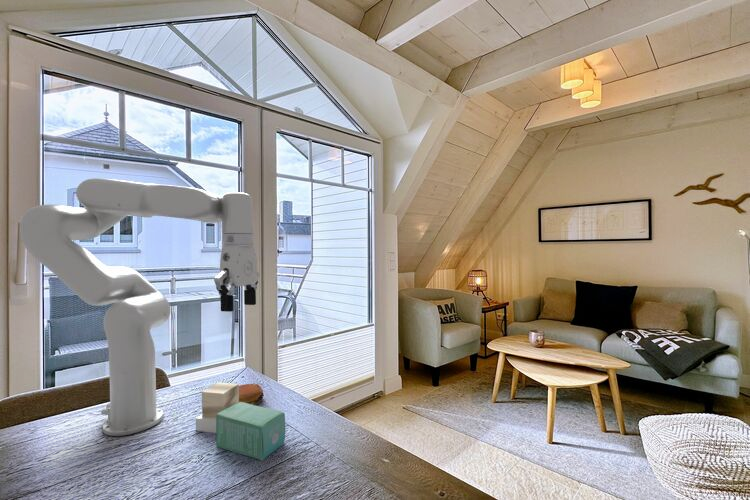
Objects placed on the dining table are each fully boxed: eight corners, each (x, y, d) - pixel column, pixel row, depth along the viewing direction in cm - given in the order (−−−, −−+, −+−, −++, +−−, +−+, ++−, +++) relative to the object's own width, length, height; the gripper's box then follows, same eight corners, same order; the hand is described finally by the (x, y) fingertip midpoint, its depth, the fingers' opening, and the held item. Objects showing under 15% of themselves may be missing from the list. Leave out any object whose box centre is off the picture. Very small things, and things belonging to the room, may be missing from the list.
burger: (220, 411, 94) (219, 393, 94) (236, 396, 104) (236, 380, 104) (255, 411, 94) (255, 394, 94) (268, 397, 103) (268, 381, 103)
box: (263, 462, 71) (262, 425, 71) (215, 448, 77) (214, 414, 77) (286, 443, 78) (285, 410, 78) (240, 432, 83) (240, 400, 83)
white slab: (195, 430, 84) (195, 418, 84) (217, 415, 92) (217, 403, 92) (225, 434, 82) (224, 421, 82) (245, 417, 90) (244, 406, 90)
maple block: (223, 418, 83) (223, 393, 83) (202, 416, 85) (201, 391, 85) (239, 407, 89) (238, 384, 89) (218, 405, 91) (218, 382, 90)
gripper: (229, 240, 81) (231, 314, 81) (268, 241, 97) (269, 302, 98) (201, 241, 82) (203, 313, 82) (244, 242, 99) (245, 302, 99)
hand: (239, 307), depth 90 cm, fingers open, 9 cm apart
